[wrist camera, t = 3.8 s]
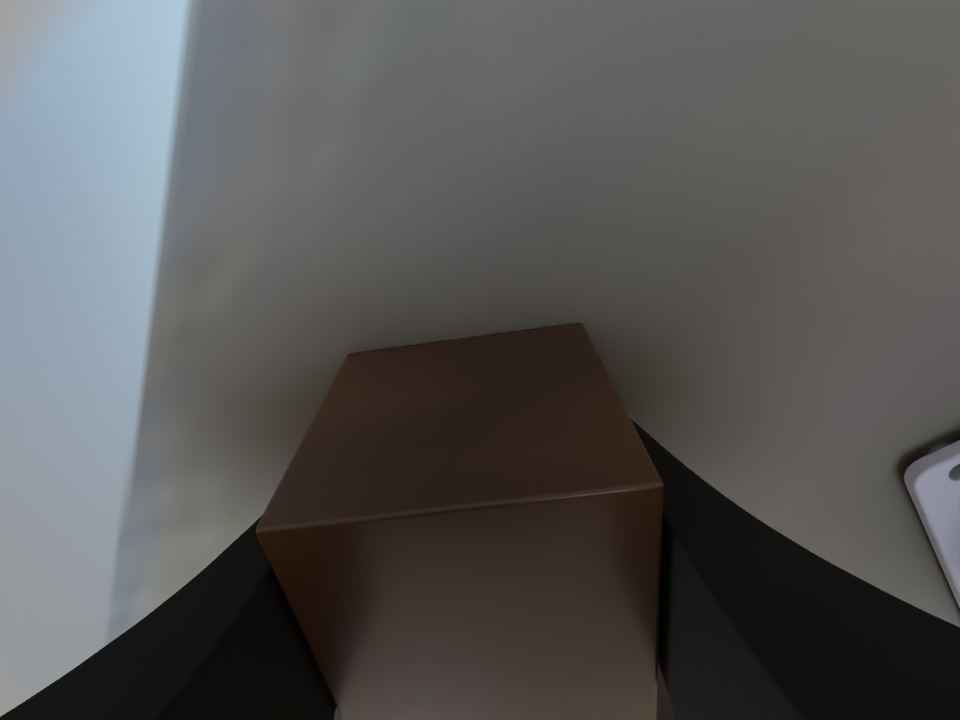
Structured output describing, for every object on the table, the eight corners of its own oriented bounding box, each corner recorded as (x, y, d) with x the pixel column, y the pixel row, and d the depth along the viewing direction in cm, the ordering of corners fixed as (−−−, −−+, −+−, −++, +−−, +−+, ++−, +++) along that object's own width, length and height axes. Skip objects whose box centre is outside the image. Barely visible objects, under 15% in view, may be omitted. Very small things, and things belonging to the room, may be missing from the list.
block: (582, 321, 10) (665, 482, 6) (592, 504, 12) (657, 724, 8) (347, 352, 10) (251, 531, 6) (397, 526, 13) (355, 750, 8)
